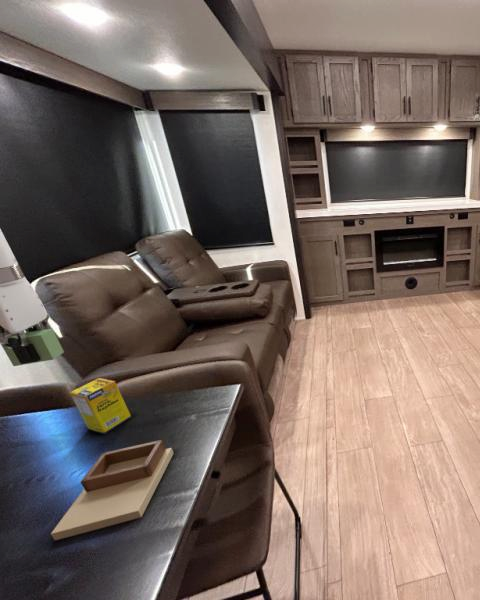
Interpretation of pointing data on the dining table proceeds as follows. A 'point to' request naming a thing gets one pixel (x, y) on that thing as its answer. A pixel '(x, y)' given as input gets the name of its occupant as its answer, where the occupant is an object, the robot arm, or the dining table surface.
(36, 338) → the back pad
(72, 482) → the dining table surface
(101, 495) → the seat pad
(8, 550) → the dining table surface
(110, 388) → the supplement box
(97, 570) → the dining table surface
